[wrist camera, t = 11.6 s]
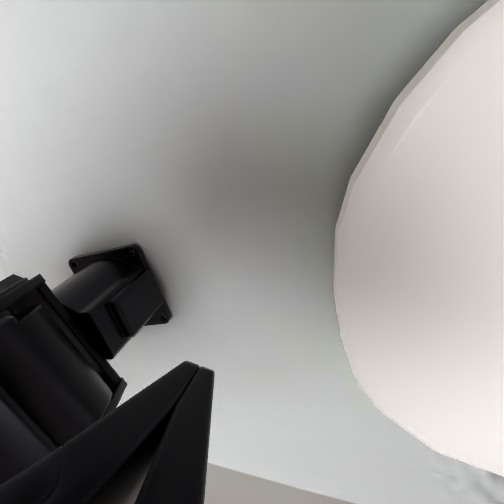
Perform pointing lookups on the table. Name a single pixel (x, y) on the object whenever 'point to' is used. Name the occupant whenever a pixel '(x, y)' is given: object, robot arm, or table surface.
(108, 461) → the robot arm
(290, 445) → the table surface
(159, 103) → the table surface
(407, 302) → the plate
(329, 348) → the table surface
